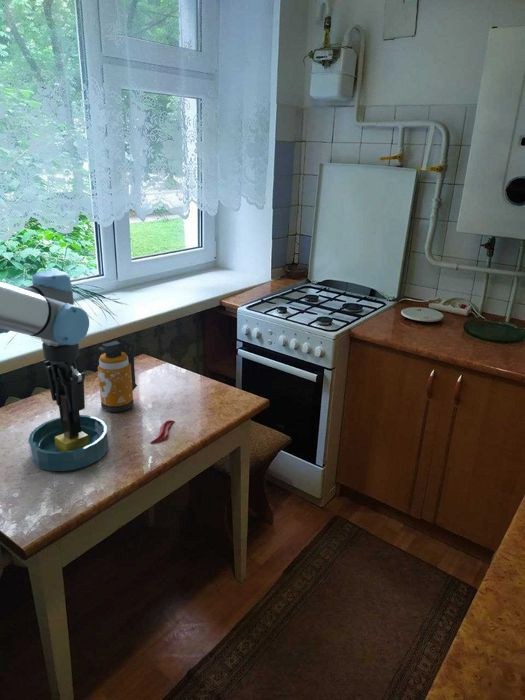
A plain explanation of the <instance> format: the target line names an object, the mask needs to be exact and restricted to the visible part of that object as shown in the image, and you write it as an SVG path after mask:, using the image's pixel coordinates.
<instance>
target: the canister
mask: <svg viewBox="0 0 525 700" xmlns="http://www.w3.org/2000/svg"><path fill="white" fill-rule="evenodd" d="M135 348H136V345H135V344H133V343H132V342H128V341H125V340H123V339H120V338H117V339H115V340H114V341H111V342H108V343H102V344H101V346H99V347H98V348H97V349H98V351H100V352H102V353H101V355H100V356H99V358H98V363H99V365H98V366H97V375H98V386H99V396H100V397H99V399H100V407H101V409H102V410H104V411H106V412H112V413H113V412H123V411H126V410H128V409H130V408H132V407H133V406H134V390H135V389H136V388H137V387H138V384H137V383H136V372H135V356H134V353H135Z"/></svg>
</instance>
